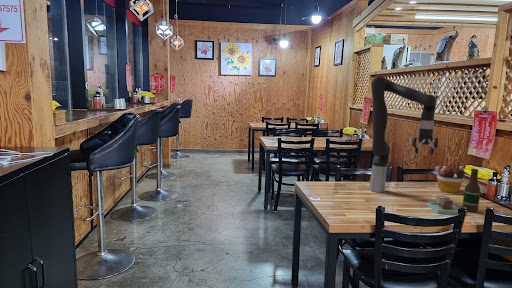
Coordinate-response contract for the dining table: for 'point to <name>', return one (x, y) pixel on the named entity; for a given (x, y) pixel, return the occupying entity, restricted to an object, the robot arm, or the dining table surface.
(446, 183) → the bucket of meat
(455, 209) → the teal tray
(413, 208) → the dining table surface
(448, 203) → the walnut block
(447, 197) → the sage block
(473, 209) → the beer bottle
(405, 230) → the dining table surface
